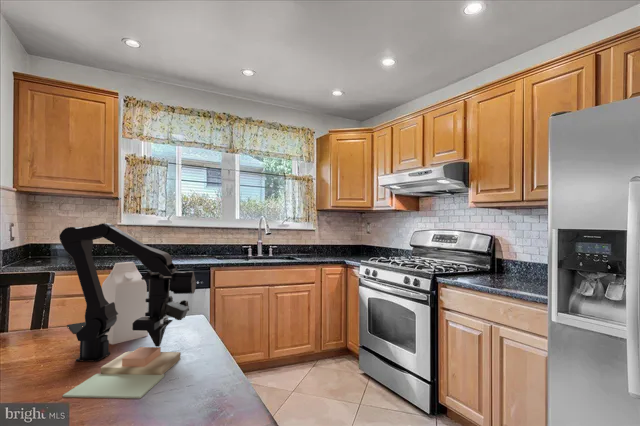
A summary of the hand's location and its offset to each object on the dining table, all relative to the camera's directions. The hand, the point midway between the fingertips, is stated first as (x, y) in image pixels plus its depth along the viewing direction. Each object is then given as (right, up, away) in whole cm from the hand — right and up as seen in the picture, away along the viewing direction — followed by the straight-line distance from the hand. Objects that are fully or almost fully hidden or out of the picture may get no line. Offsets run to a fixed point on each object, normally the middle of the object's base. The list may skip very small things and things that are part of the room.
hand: (157, 346), depth 107 cm
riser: (0, -3, -9) cm, 9 cm away
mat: (-1, -2, -21) cm, 21 cm away
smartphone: (-42, -4, +28) cm, 51 cm away
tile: (0, 0, -9) cm, 9 cm away
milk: (-21, -4, +18) cm, 27 cm away
